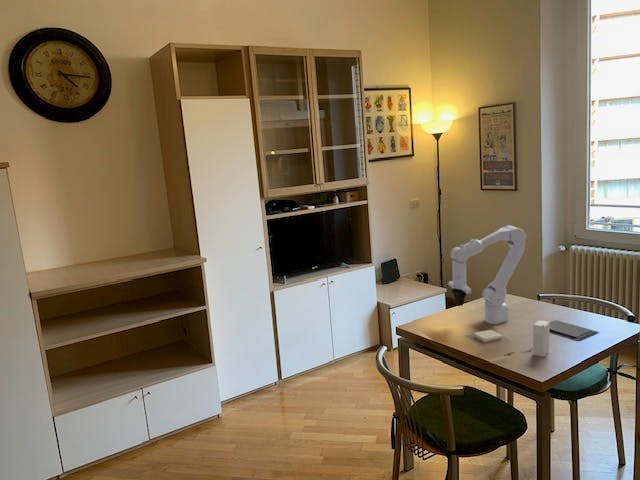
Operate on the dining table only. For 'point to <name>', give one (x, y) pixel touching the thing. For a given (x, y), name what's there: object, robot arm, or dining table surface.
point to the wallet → (570, 331)
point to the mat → (487, 342)
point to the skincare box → (541, 338)
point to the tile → (487, 336)
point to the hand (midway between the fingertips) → (459, 305)
